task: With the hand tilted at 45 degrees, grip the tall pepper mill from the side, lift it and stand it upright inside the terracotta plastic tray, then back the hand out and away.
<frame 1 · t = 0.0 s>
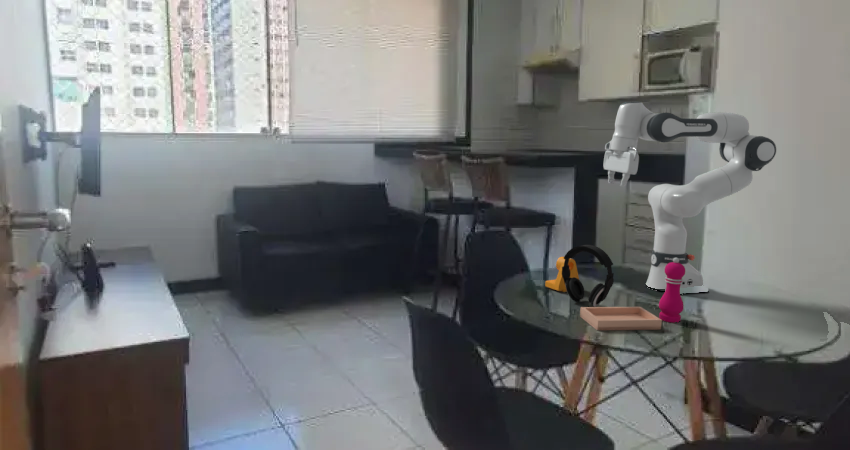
hand: (616, 184, 215), 39 cm above the table, tool pointing down, fingers open, 8 cm apart
headphones: (584, 304, 201), on the table
bracket: (561, 289, 219), on the table
pepper mill: (669, 320, 187), on the table
tray: (619, 322, 182), on the table
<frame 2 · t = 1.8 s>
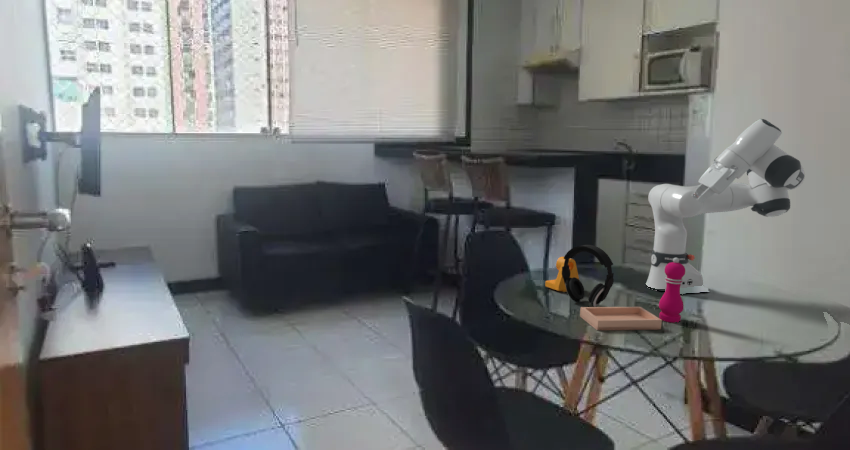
hand: (696, 199, 183), 38 cm above the table, tool tilted 40°, fingers open, 8 cm apart
nothing on the table moved.
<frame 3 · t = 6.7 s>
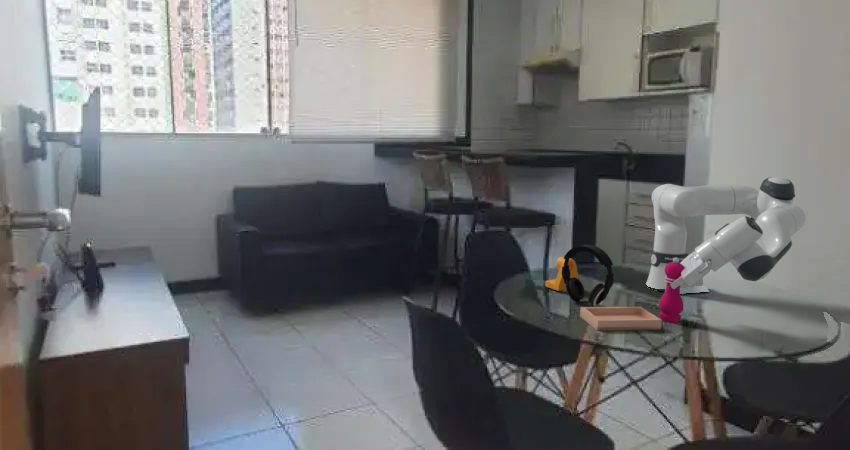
hand: (671, 284, 185), 11 cm above the table, tool tilted 45°, fingers closed on pepper mill, 5 cm apart
pepper mill: (669, 320, 187), on the table, touching gripper
everything else where it was.
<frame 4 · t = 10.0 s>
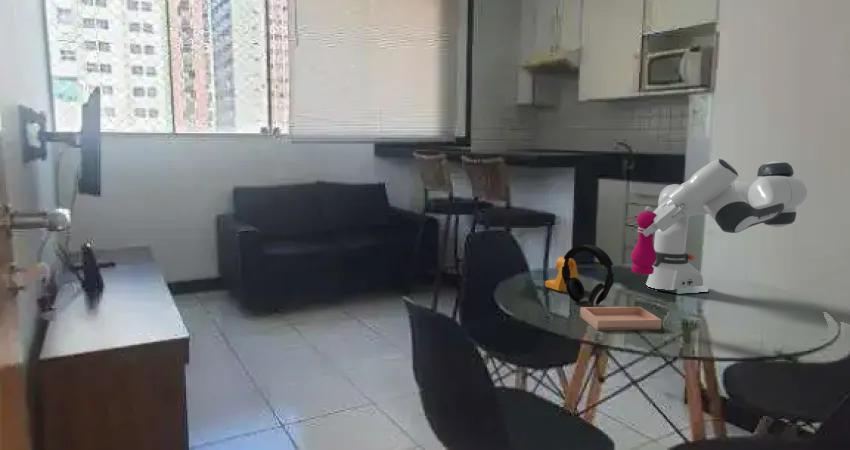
hand: (643, 232, 177), 28 cm above the table, tool tilted 45°, fingers closed on pepper mill, 5 cm apart
pepper mill: (642, 272, 179), point 16 cm above the table, touching gripper
everything else where it was.
when the fingers open (14 cm above the table, at t = 13.6 s): pepper mill moves 1 cm, resting on tray.
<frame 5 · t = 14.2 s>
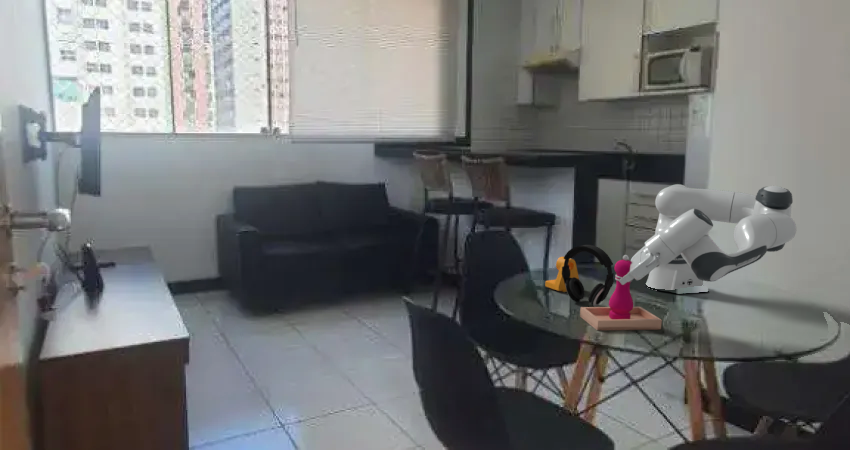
hand: (621, 278, 180), 14 cm above the table, tool tilted 45°, fingers open, 8 cm apart
pepper mill: (619, 318, 183), point 1 cm above the table, touching gripper, tray
everything else where it was.
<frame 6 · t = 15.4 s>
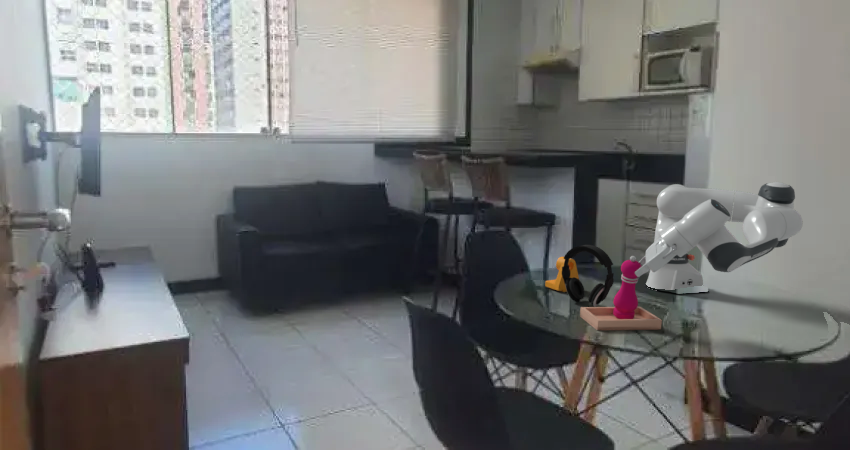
hand: (636, 271, 177), 17 cm above the table, tool tilted 45°, fingers open, 8 cm apart
pepper mill: (623, 315, 184), point 1 cm above the table, touching tray
everything else where it was.
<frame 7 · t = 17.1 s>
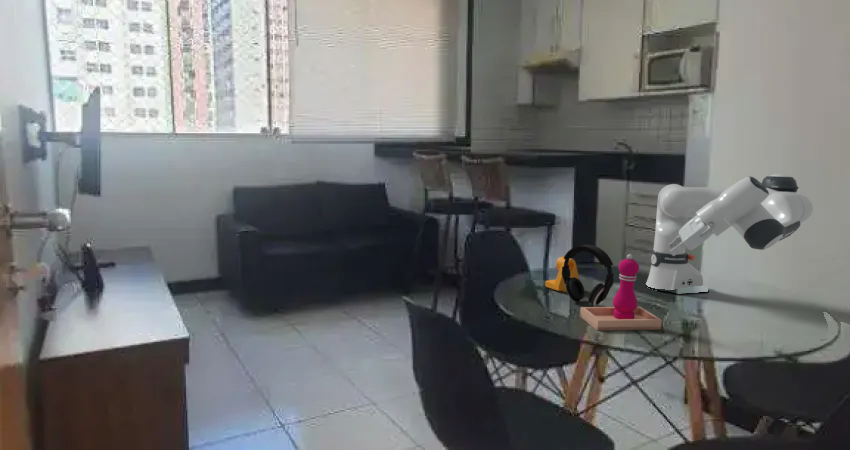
hand: (670, 250, 174), 24 cm above the table, tool tilted 45°, fingers open, 8 cm apart
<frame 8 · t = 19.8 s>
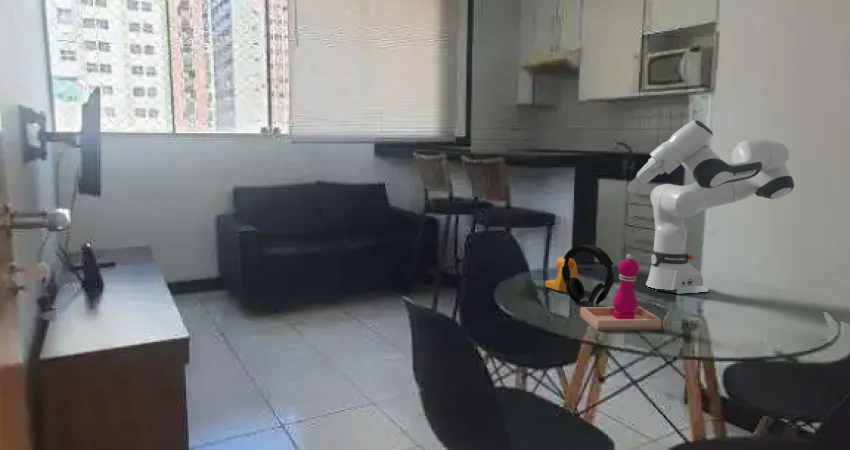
hand: (628, 188, 195), 39 cm above the table, tool tilted 45°, fingers open, 8 cm apart
at the end: pepper mill inside the target area on the tray (3.3 cm from its centre), point 0.8 cm above the tray's base; pepper mill tilted 0°; the gripper is holding nothing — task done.
